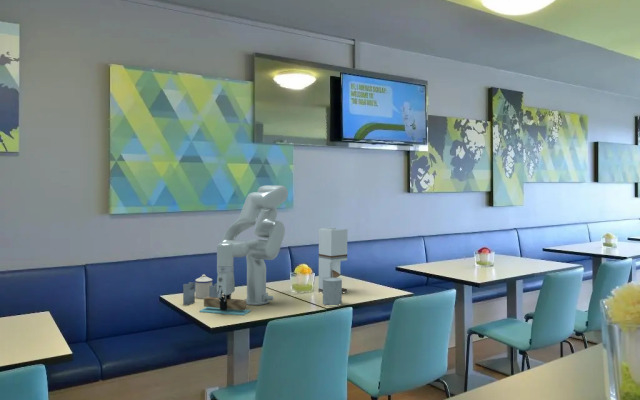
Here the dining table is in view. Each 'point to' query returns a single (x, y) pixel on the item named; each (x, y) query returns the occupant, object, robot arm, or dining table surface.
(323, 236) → the grey tall blocky piece
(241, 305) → the rail
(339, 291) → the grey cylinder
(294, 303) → the dining table surface
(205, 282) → the teacup with lid
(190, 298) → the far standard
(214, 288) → the near standard
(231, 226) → the robot arm
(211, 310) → the mat
